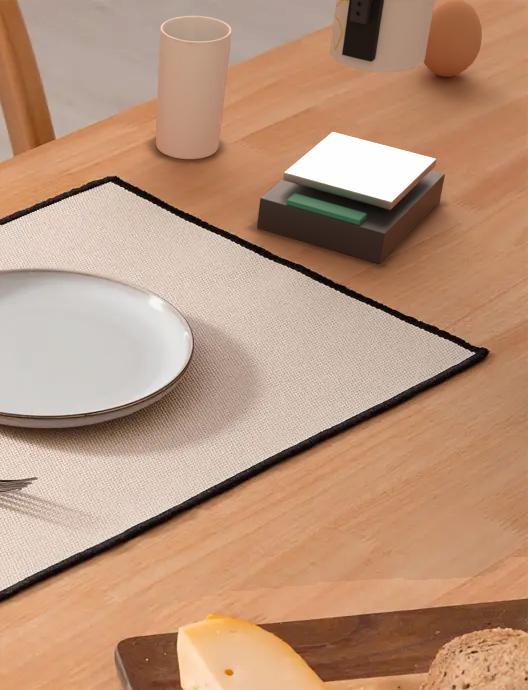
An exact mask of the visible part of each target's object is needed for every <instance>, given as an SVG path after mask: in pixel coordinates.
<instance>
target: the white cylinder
mask: <svg viewBox="0 0 528 690" xmlns="http://www.w3.org/2000/svg"><path fill="white" fill-rule="evenodd" d="M434 6H435V0H384V4H383V11H382V17H381V24H380V30H379V37H378V43H377V50H376V57H375V60H373V61H372V62H370V61H366V60H361V59H357V58H353V57H349V56H345V55H342V51H343V44H344V36H345V29H346V22H347V15H348V7H349V0H336V1H335V8H334V16H333V23H332V29H331V30H332V32H331V39H330V40H331V41H330V47H329V54H330V56H331V57H332V59H334V60H335V61H336V62H338V63H339V64H341V65H343V66H346V67H348V68H350V69H351V68H352V69H354V70H359V71H365V72H371V73H383V74H384V73H387V74H388V73H389V74H390V73H400V72H401V73H402V72H406V71H410V70H413V69H416V68H418V67H419V66H422V65H423V64H424V60H425V54H426V48H427V43H428V37H429V31H430V25H431V19H432V13H433V10H434Z"/></svg>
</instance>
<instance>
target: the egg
mask: <svg viewBox="0 0 528 690" xmlns="http://www.w3.org/2000/svg"><path fill="white" fill-rule="evenodd" d="M482 39H483V29H482V25H481V20H480V17H479V15H478V14H477V11H476V9H475V8H474V7H473V5H471V4H470V3H469V2H467V1H465V0H446V1H444V2H442V3H440V4H439V5H438V6H437V7H435V8H434V9H433V13H432V19H431V25H430V31H429V37H428V43H427V48H426V54H425V60H424V62H423V64H424V65H425V66H426V68H427V69H428V70H429V71H430V72H432V73H433V74H435V75H437V76H439V77H442V78H443V77H444V78H449V77H455V76H457V75H460V74H461V73H463V72H465V71H466V70H467V69H468V68H469V67H470V66H472V64H473V63H474V62H475V61H476V59H477V58H478V55H479V53H480V50H481V46H482Z"/></svg>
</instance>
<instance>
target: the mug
mask: <svg viewBox="0 0 528 690" xmlns="http://www.w3.org/2000/svg"><path fill="white" fill-rule="evenodd" d="M159 30H160V32H159V43H158V44H159V45H158V73H157V97H156V98H157V99H156V116H155V117H156V118H155V119H156V120H155V146H156V148H157V150H158V151H159V152H160V153H161V154H164V155H165V156H168V157H171V158H175V159H179V160H199V159H205V158H207V157H210V156H212V155H214V154H215V153H216V152H217V151H218V149H219V145H220V138H221V130H222V123H223V113H224V106H225V105H224V103H225V95H226V87H227V86H226V85H227V78H228V69H229V60H230V52H231V42H232V41H231V38H232V28H231V26H230V25H229V24H228V23H226V22H225V21H223V20H221V19H217V18H214V17H209V16H203V15H184V16H177V17H173V18H169V19H167V20H165V21H164V22H163V23H162V24H161V25H160V29H159Z"/></svg>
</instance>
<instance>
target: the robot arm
mask: <svg viewBox="0 0 528 690" xmlns="http://www.w3.org/2000/svg"><path fill="white" fill-rule="evenodd" d="M383 4H384V0H349V7H348V15H347V22H346V29H345V36H344V44H343V51H342V55H345V56H349V57H353V58H357V59H361V60H366V61H370V62H372V61H373V60H375V57H376V50H377V43H378V37H379V30H380V24H381V17H382V11H383Z"/></svg>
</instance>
